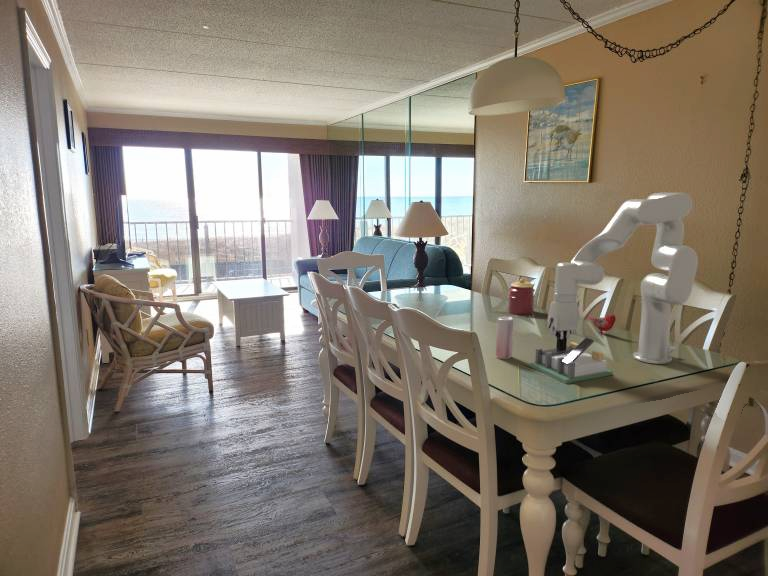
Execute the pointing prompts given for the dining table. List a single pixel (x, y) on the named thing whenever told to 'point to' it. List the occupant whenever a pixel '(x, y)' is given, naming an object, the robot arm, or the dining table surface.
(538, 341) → the dining table surface
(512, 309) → the canister
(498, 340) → the beverage can
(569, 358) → the near strap
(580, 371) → the board
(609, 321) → the decorative bird figurine
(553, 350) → the strap
